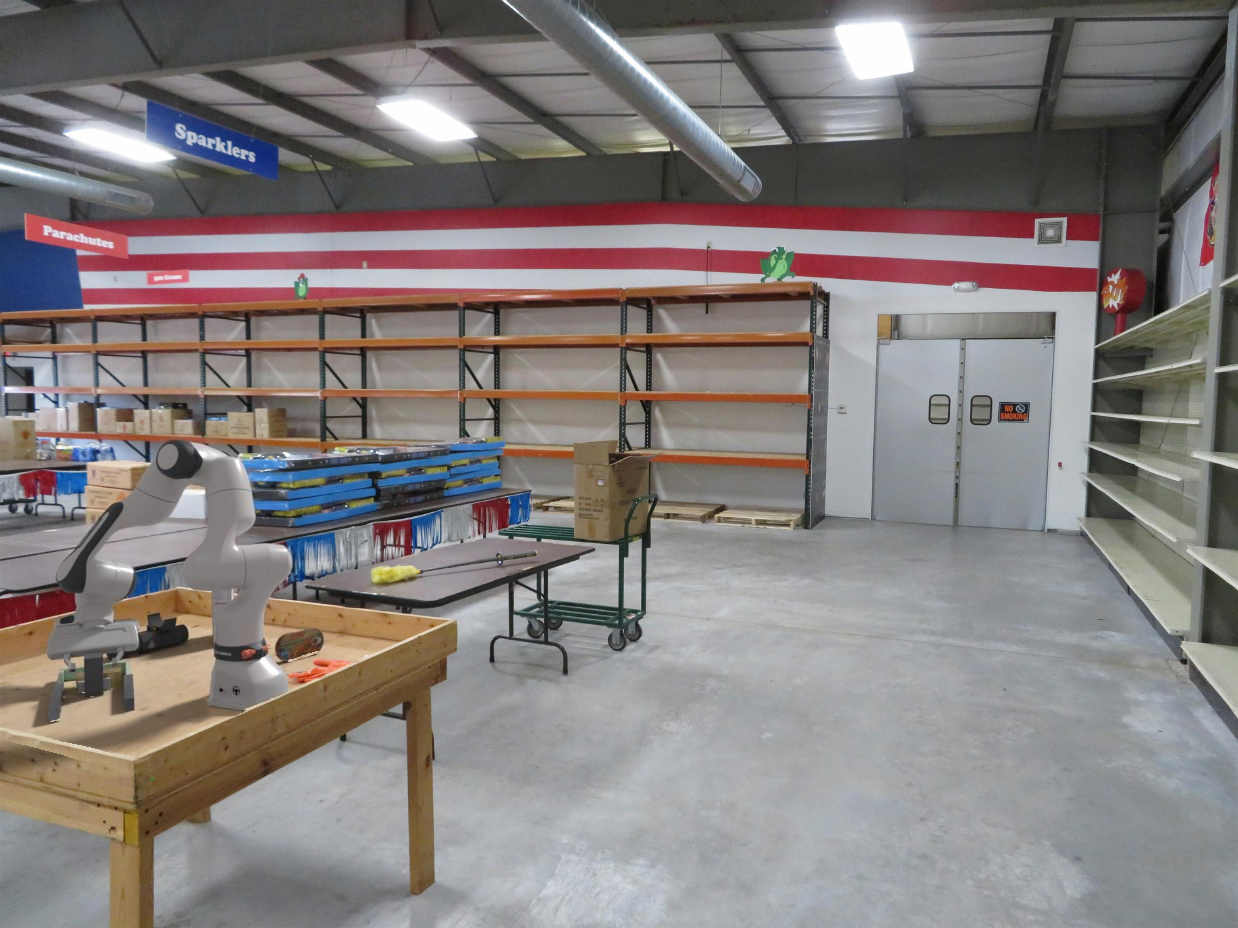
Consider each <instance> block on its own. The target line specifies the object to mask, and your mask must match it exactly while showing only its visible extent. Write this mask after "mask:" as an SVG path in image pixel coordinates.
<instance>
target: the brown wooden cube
mask: <svg viewBox="0 0 1238 928" xmlns="http://www.w3.org/2000/svg"><path fill="white" fill-rule="evenodd" d="M103 675H104V678H106V677H110V678H111V688H115V687H116V688H117V687H121V685H122V673H121V667H119V668H109V669H103Z"/></svg>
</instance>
